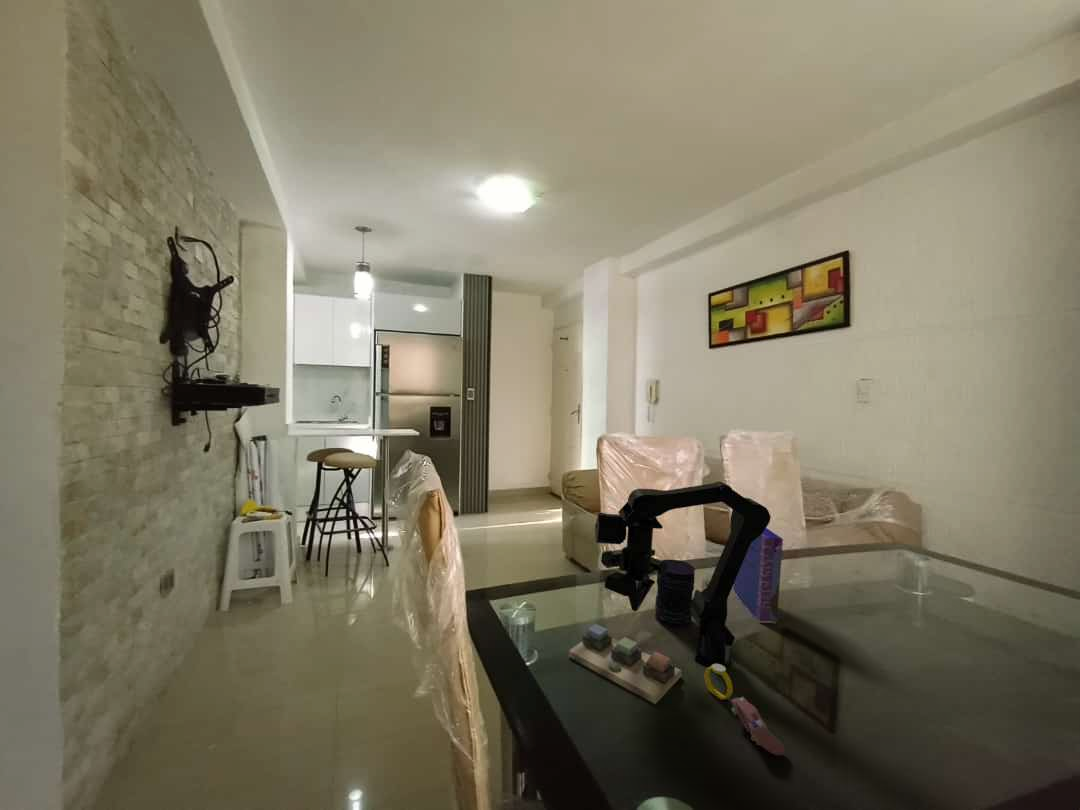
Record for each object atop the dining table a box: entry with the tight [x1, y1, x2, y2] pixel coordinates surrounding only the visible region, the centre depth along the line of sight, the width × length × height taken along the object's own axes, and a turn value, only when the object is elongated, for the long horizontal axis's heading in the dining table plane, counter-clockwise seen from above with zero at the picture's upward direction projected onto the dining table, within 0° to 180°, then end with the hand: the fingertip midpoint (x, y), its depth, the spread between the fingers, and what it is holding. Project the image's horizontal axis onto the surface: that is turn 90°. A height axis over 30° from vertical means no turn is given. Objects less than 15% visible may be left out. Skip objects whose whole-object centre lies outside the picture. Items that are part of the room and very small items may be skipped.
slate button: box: [587, 623, 609, 642], centre depth 109 cm, size 3×3×2 cm
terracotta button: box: [648, 651, 671, 673], centre depth 98 cm, size 3×3×2 cm
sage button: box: [616, 636, 638, 657], centre depth 103 cm, size 3×3×2 cm
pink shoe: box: [730, 696, 785, 757], centre depth 84 cm, size 10×5×7 cm, turn 5°
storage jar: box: [654, 559, 696, 630], centre depth 124 cm, size 10×10×15 cm
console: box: [568, 631, 682, 705], centre depth 103 cm, size 22×12×4 cm, turn 49°
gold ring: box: [703, 664, 733, 700], centre depth 95 cm, size 6×3×6 cm, turn 32°
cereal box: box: [733, 527, 784, 623], centre depth 133 cm, size 17×5×24 cm, turn 179°
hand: (634, 610), depth 106 cm, fingers closed
